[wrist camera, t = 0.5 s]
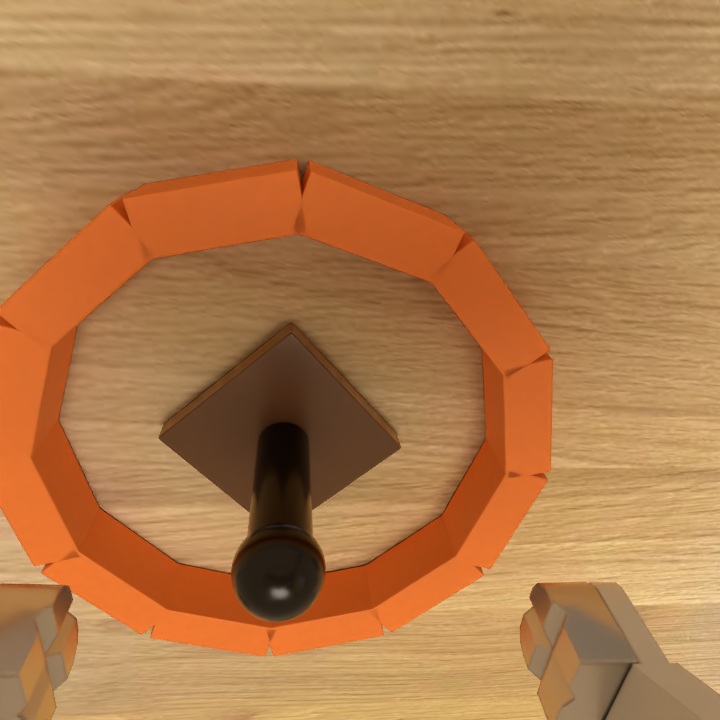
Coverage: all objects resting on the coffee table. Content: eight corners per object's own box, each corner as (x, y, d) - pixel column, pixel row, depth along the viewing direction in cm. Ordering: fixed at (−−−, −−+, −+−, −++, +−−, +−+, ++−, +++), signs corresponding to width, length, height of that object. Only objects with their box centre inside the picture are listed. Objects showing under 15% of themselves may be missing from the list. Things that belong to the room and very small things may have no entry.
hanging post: (277, 519, 29) (269, 719, 20) (162, 424, 26) (89, 610, 17) (398, 434, 28) (449, 609, 19) (291, 321, 25) (288, 465, 15)
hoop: (267, 662, 34) (265, 711, 32) (-108, 412, 24) (-157, 452, 22) (609, 443, 29) (640, 479, 27) (312, 21, 20) (315, 11, 17)
